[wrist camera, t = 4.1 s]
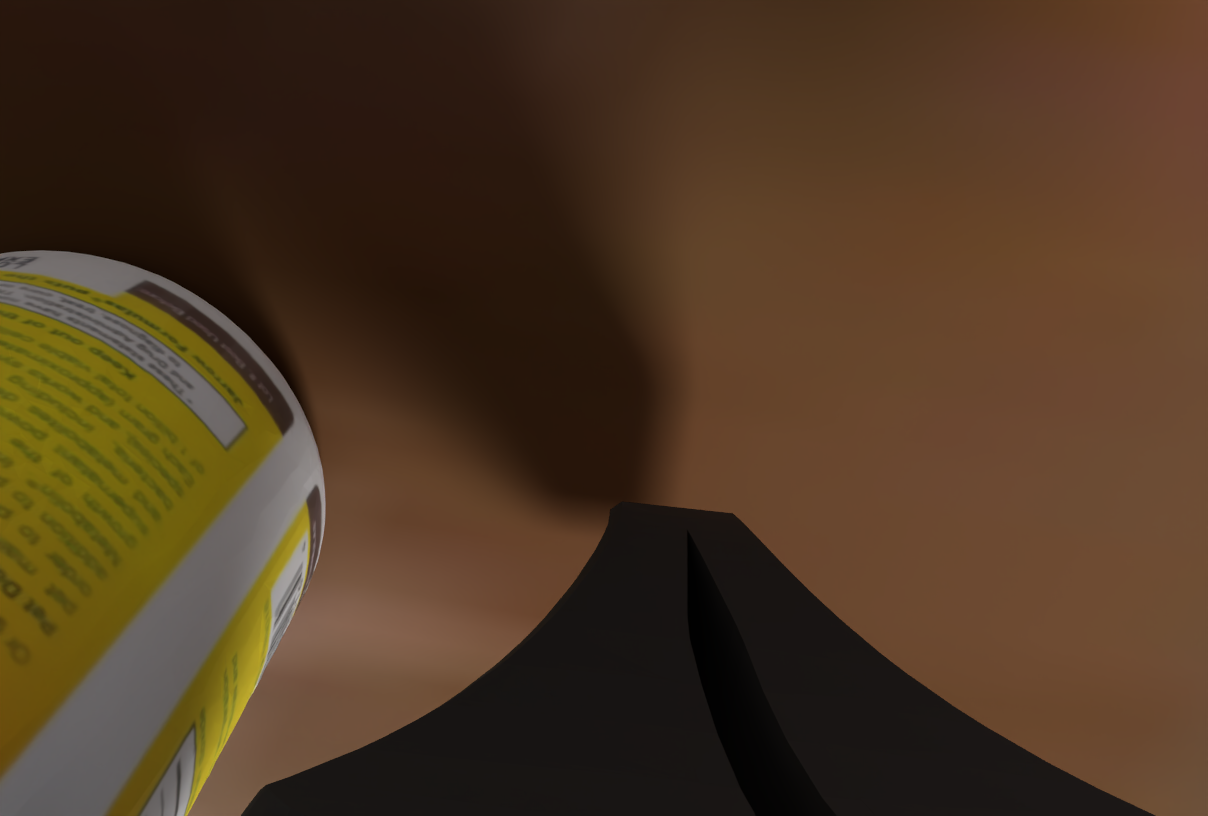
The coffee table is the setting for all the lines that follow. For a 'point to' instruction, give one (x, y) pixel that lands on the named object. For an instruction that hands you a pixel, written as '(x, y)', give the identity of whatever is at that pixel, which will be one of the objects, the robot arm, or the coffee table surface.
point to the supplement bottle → (137, 534)
